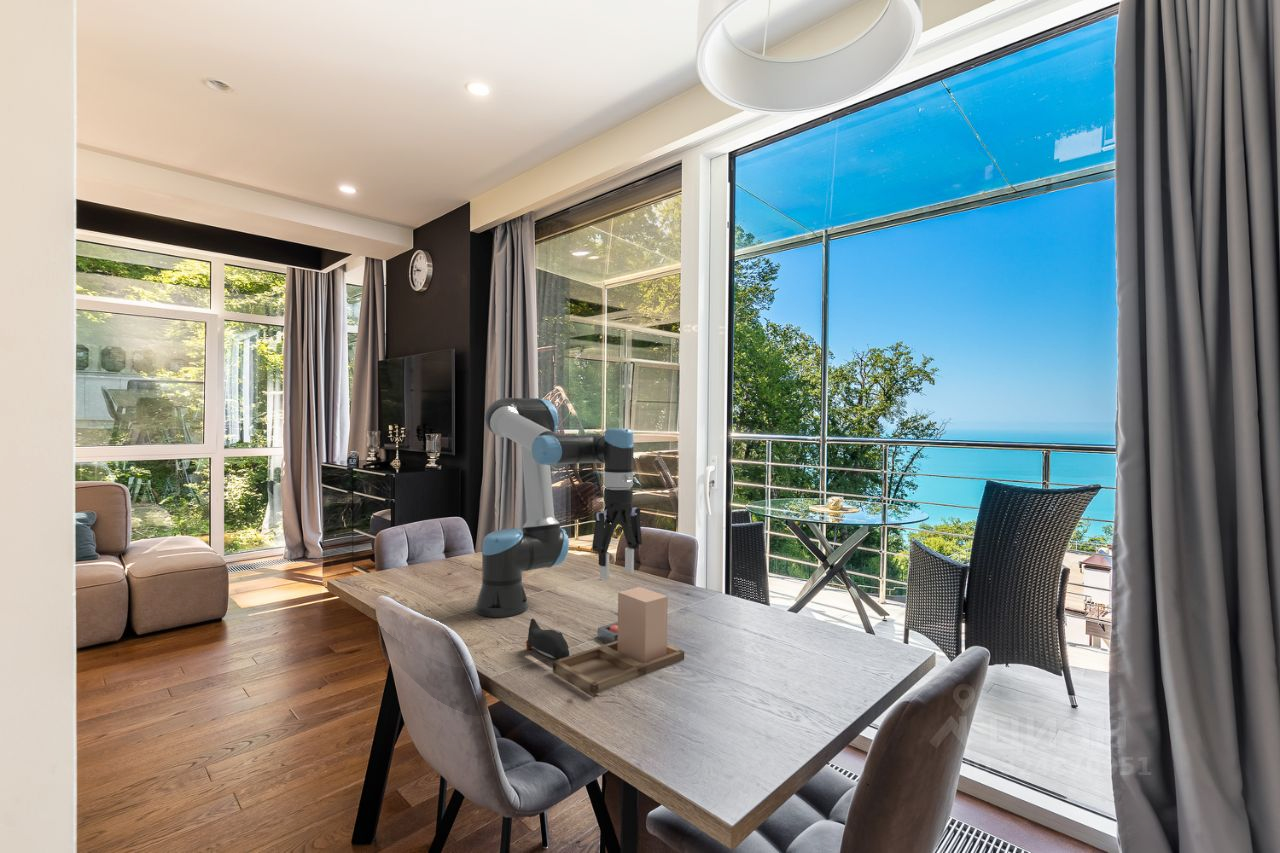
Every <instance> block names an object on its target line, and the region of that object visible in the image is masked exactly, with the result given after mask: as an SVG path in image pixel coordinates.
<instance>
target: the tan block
mask: <svg viewBox="0 0 1280 853" xmlns="http://www.w3.org/2000/svg"><path fill="white" fill-rule="evenodd" d="M617 600H618V601H617V622H618V652H620V653H622V654H624V655H626V656H628V657H630V658H632V659H634V660H636V661H638V662H640V663H642V664H644V663H647V662H649V661H652V660H655V659H658V658H660V657H663V656H666V655H667V644H668V603H669V602H668V595H665V594H662V593H658V592H655V591H653V590H650V589H647V588H644V587H641V586H638V587H634V588H630V589H626V590H622V591H618V593H617Z"/></svg>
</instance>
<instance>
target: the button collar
mask: <svg viewBox="0 0 1280 853" xmlns="http://www.w3.org/2000/svg"><path fill="white" fill-rule="evenodd" d="M613 625H618V621H616V622H613V623H610V624H605V625H603V626H600V627H597V638H599V639H600V640H602V641H605V642H607V643H612V642H615V641H618V632H617V633H614V632H612V631H610V626H613Z"/></svg>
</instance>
